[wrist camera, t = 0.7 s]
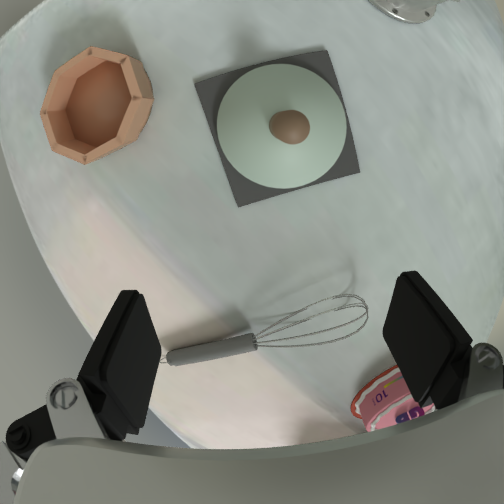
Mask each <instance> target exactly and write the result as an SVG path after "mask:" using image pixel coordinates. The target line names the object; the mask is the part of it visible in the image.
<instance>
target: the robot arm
mask: <svg viewBox="0 0 504 504" xmlns="http://www.w3.org/2000/svg"><path fill="white" fill-rule="evenodd" d="M368 1H369V2H371V3H372V4H373V5H374V6H375V7H376V8H378V9H379V10H380V11H382V12H383V13H385V14H387V15H388V16H390V17H392V18H394V19H396V20H399V21H402V22H405V23H411V24H417V23H422V22H425V21H427V20H430V19H431V18H432V17H433V16H434V14H435V12H436V6H437V4H440V3H443V2H445V1H448V0H368ZM452 1H456V2H460V1H461V0H452ZM383 337H384V339H385V341H386V343H387V345H388V347H389V349H390V351H391V353H392V355H393V357H394V359H395V361H396V363H397V365H398V367H399V369H400V372H401V374H402V376H403V378H404V380H405V382H406V384H407V386H408V389H409V391H410V393H411V395H412V397H413V399H414V401H415V402H418V404H419V406H420V408H424V407H426V406H429V405H432V404H434V406H435V410H434V412H431V413H429V414H426V415H423V416H420V417H417V418H414V419H412V420H408V421H405V422H402V423H399V424H396V425H392V426H389V427H385V428H382V429H378V430H374V431H370V432H366V433H362V434H358V435H353V436H348V437H344V438H339V439H333V440H328V441H322V442H315V443H309V444H301V445H293V446H283V447H272V448H257V449H191V448H176V447H164V446H154V445H145V444H138V443H131V442H126V441H125V440H124V439H125V437H126V433H129V434H135V435H138V433H139V428H142V427H143V426H144V424H145V419H146V415H147V410H148V406H149V402H150V397H151V393H152V389H153V385H154V381H155V377H156V373H157V369H158V365H159V361H160V357H161V345H160V342H159V340H158V337H157V334H156V331H155V329H154V326H153V323H152V320H151V317H150V314H149V311H148V308H147V305H146V302H145V299H144V296H143V294H139V292H138V291H137V290H122V291H121V292H120V294H119V296H118V297H117V299H116V301H115V303H114V305H113V306H112V308H111V310H110V312H109V314H108V316H107V317H106V319H105V321H104V323H103V325H102V327H101V329H100V331H99V333H98V335H97V337H96V339H95V341H94V343H93V345H92V347H91V349H90V351H89V353H88V355H87V357H86V359H85V361H84V363H83V366H82V368H81V370H80V372H79V375H78V377H77V380H75V379H72V378H64V379H61V380H58V381H57V382H55V383H54V384H53V385H52V386H51V387H50V388H49V390H48V392H47V395H46V405H44V406H42V407H40V408H39V409H37V410H35V411H33V412H31V413H29V414H27V415H25V416H24V417H22V418H20V419H18V420H16V421H14V422H13V423H12V424H11V425H10V426H9V428H8V430H7V433H6V443H4V442H3V441H2V442H1V443H0V504H504V365H503V359H502V356H501V353H500V352H499V351H498V349H497V348H495V347H494V346H493V345H491V344H488V343H478V344H476V345H475V346H474V347H473V348H472V347H471V345H470V344H471V343H472V341H473V340H472V338H471V337H470V336H469V334H468V333H467V332H466V330H465V329H464V328H463V326H462V325H461V324H460V322H459V321H458V320H457V318H456V317H455V316H454V315H453V313H452V312H451V311H450V310H449V308H448V307H447V306H446V305H445V303H444V302H443V301H442V300H441V299H440V297H439V296H438V295H437V294H436V293H435V291H434V290H433V289H432V288H431V287H430V286H429V284H428V283H427V282H426V281H425V280H424V279H423V278H422V276H421V275H420V274H419V273H418V272H417V271H407V272H402V273H401V275H400V276H399V277H398V278H397V280H396V284H395V288H394V292H393V296H392V299H391V303H390V307H389V310H388V314H387V317H386V320H385V324H384V327H383Z"/></svg>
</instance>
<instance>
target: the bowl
mask: <svg viewBox="0 0 504 504" xmlns="http://www.w3.org/2000/svg"><path fill="white" fill-rule="evenodd" d="M153 102H154V97H153V91H152V85H151V81H150V79H149V77H148V75H147V73H146V72H145V70H144V68H143V65H142V62H141V61H139V60H136V59H134V58H132V57H130V56H128V55H125V54H121V53H117V52H113V51H109V50H105V49H101V48H97V47H92V46H90V47H89V48H87V49H85V50H84V51H82V52H81V53H79V54H78V55H76V56H75V57H73V58H72V59H70V60H69V61H68V62H66V63H65V64H63V65H62V66H61V67H59V68H58V69H57V70H55V72H54V74H53V77H52V79H51V82H50V85H49V87H48V90H47V93H46V96H45V99H44V102H43V105H42V108H41V111H40V115H41V118H42V122H43V125H44V128H45V131H46V135H47V138H48V141H49V143H50V146H51V149H52V151H54V152H56V153H58V154H61V155H63V156H66V157H68V158H70V159H73V160H75V161H77V162H80V163H82V164H84V165H86V164H88V163H91V162H93V161H96V160H98V159H101V158H103V157H105V156H107V155H109V154H111V153H113V152H114V151H117V150H119V149H121V148H123V147H125V146H127V145H128V144H130V143H132V142H134V141H136V140H137V138H138V136H139V134H140V132H141V131H142V130H143V128H144V126H145V125H146V123H147V121H148V118H149V116H150V113H151V109H152V104H153Z"/></svg>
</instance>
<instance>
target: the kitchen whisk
mask: <svg viewBox="0 0 504 504" xmlns="http://www.w3.org/2000/svg"><path fill="white" fill-rule="evenodd" d="M343 295H352V294H343ZM343 295H337V296H341V297H355V296H357V295H353V296H343ZM337 296H333V297H335V298H340V297H337ZM333 297H330V298H333ZM357 297H359V296H357ZM357 297H355V298H357ZM330 298H327V299H330ZM359 298H360V299H359ZM359 298H357V299H359V300H361V299H362V298H361V297H359ZM333 299H334V298H333ZM323 300H326V299H323ZM323 300H321V301H323ZM362 300H363V301H364V299H362ZM362 300H361V301H362ZM321 301H318V302H321ZM363 301H362V302H363ZM318 302H316V303H318ZM316 303H314V304H316ZM364 303H365V301H364V302H363V303H355V304H364ZM314 304H311V305H314ZM355 304H349V305H355ZM311 305H309V306H311ZM349 305H345V306H342V307H345V308H349V307H346V306H349ZM364 305H365V307H366V308H365V307H364V306H358V307H364V308H365V309H366V312H365V313H364V314H363V315H362V316H361V317H359V318H357V319H355V320H353V321H351V322H348V323H346V324H343V325H340V326H337V328H340V327H343V326H345V325H348V324H350V323H353V322H355V321H357V320H359V319H360V318H362V317H363V316H364V315H365V314H366V313H367V319H366V321H365V322H364V324H363V326H361V327H360V328H361V329H362V328H363V327H364V326H365V324H366V322H367V320H368V306H367V304H366V303H365V304H364ZM309 306H307V307H309ZM307 307H305V308H307ZM342 307H338V308H341V309H345V308H342ZM350 307H355V306H350ZM305 308H303V309H304V310H306V309H305ZM338 308H335V309H338ZM303 309H301V310H302V311H304V310H303ZM307 309H308V308H307ZM335 309H332V310H335ZM341 309H338V310H341ZM301 310H299V311H297V312H295V313H293V314H291V315H289V316H290V317H291V316H293V315H295V314H297V313H299V312H301ZM332 310H329V311H332ZM329 311H325V312H323V313H326V312H329ZM335 311H337V310H335ZM323 313H320V314H323ZM320 314H317V315H320ZM317 315H314V316H317ZM289 316H287V317H288V318H290V317H289ZM314 316H311V317H314ZM287 317H285V318H286V319H288V318H287ZM311 317H309V318H311ZM285 318H283V319H284V320H286V319H285ZM309 318H306V319H308V320H310V319H309ZM283 319H282V320H280V321H278V322H276V323H275V324H273V325H271V326H270V327H268V328H266V329H265V330H263V331H261V332H260V333H258V334H257V335H254V334H253V333H249V334H245V335H241V336H237V337H233V338H229V339H224V340H220V341H215V342H211V343H206V344H202V345H197V346H192V347H187V348H182V349H177V350H172V351H171V352H168V353H167V355H166V357H165V358H166V359H167V362H160V361H161V360H162V359H164V358H162V359H161V360H160V361H159V363H168V364H169V365H171V366H172V365H175V366H179V365H185V364H191V363H197V362H202V361H208V360H213V359H218V358H223V357H228V356H233V355H237V354H242V353H246V352H251V351H255V350H257V348H258V346H259V347H306V346H315V345H322V344H327V343H332V342H336V341H339V340H342V339H345V338H348V337H350V336H352V335H354V334H356V333H357V332H358V331H360V330H361V329H360V328H359V329H358V330H357V331H355V332H356V333H355V332H353V333H354V334H353V333H351V334H352V335H351V334H349V335H350V336H349V335H347V336H348V337H347V336H345V337H342V338H339V340H338V339H335V340H336V341H335V340H332V342H331V341H327V343H326V342H322V344H321V343H315V345H314V344H307V345H293V346H264V345H257V344H258V343H267V342H275V341H282V340H289V339H294V338H300V337H305V336H310V335H314V334H319V333H323V332H326V331H330V330H333V329H337V328H336V327H334V328H330V329H327V330H323V331H319V333H318V332H315V333H310V334H306V335H301V336H296V337H290V338H284V339H278V340H271V341H264V342H257V340H256V339H259V338H262V337H264V336H267V335H270V334H272V332H273V333H275V332H278V331H280V329H281V330H283V329H286V328H288V326H289V327H291V326H294V325H296V324H295V323H297V324H299V323H302V322H305V321H307V320H306V319H303V320H305V321H303V320H301V321H302V322H301V321H298V322H299V323H298V322H295V323H293V324H294V325H293V324H290V325H291V326H290V325H288V326H285V327H286V328H285V327H282V328H280V329H277V330H275V331H272V332H270V333H267V334H265V335H262V336H260V337H258V338H256V336H258V335H259V334H261V333H263V332H264V331H266V330H268V329H270V328H271V327H273V326H275V325H277V324H278V323H280V322H282V321H284V320H283Z"/></svg>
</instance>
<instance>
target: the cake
mask: <svg viewBox="0 0 504 504" xmlns="http://www.w3.org/2000/svg"><path fill="white" fill-rule="evenodd" d="M434 408H435V406H434V404H432V405H429V406H426V407H424V408H420V406H419V404H418V402H415V401H414V399H413V397H412V395H411V393H410V391H409V389H408V386H407V384H406V382H405V380H404V378H403V376H402V374H401V372H400V369H399V367H398V365H395V366H393V367H392V368H390V369H388V370H386V371H385V372H383V373H381V374H380V375H378V376H377V377H376V378H374V379H373V380H372V381H370V382H369V383H368V384H367V385H366V386H364V387H363V388H362V389H361V390H360V391H359V393H358V394H357V395H356V396H355V398H354V399H353V401H352V404H351V412H352V414H353V415H354V416H355V417H357V418H360V419H362V420H363V423H364V425H365V428H366V430H367V431H368V432H370V431H374V430H378V429H382V428H385V427H389V426H392V425H396V424H399V423H402V422H405V421H408V420H412V419H414V418H417V417H420V416H423V415H426V414H429V413H430V412H432V411H433V410H434Z"/></svg>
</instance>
